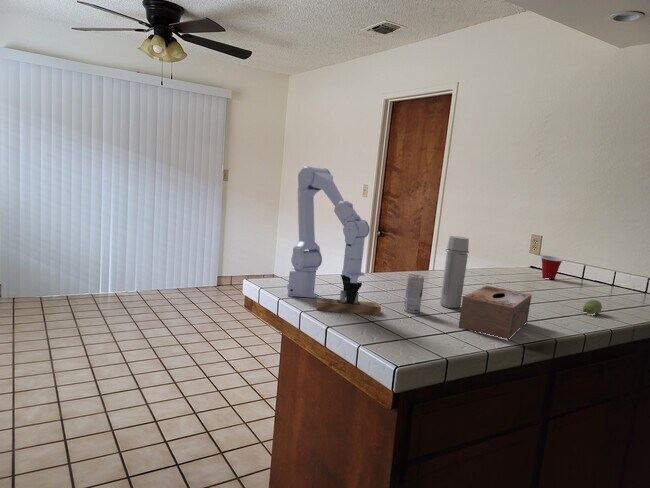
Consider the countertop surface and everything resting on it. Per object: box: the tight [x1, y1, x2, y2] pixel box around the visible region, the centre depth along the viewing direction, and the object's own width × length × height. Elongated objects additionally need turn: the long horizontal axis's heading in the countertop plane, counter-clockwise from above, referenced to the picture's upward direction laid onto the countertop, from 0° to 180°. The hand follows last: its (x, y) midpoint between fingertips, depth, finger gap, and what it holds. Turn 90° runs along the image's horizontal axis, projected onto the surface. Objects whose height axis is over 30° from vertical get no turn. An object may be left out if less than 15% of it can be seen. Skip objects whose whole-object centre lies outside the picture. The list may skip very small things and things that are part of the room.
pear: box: [581, 299, 603, 313], centre depth 172 cm, size 6×5×10 cm
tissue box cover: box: [458, 285, 532, 339], centre depth 142 cm, size 26×14×10 cm, turn 145°
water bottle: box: [439, 235, 470, 309], centre depth 159 cm, size 9×8×25 cm
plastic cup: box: [540, 255, 564, 280], centre depth 242 cm, size 11×11×12 cm
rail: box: [315, 297, 382, 316], centre depth 143 cm, size 20×5×2 cm, turn 93°
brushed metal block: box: [339, 289, 360, 305], centre depth 143 cm, size 6×2×6 cm, turn 93°
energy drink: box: [403, 273, 425, 314], centre depth 149 cm, size 5×5×12 cm
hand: (348, 300), depth 143 cm, fingers open, 7 cm apart
